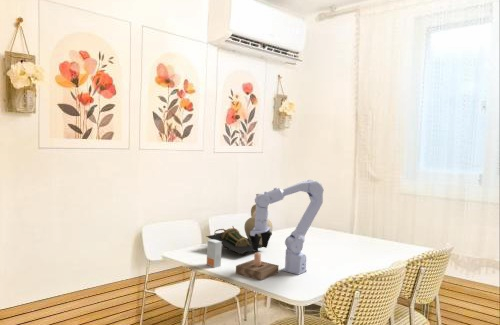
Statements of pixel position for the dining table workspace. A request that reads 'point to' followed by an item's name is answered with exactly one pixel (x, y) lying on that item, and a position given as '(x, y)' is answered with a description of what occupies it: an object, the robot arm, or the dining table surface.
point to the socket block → (257, 270)
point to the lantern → (233, 240)
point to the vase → (251, 223)
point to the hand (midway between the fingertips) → (260, 248)
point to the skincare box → (214, 253)
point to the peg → (257, 260)
